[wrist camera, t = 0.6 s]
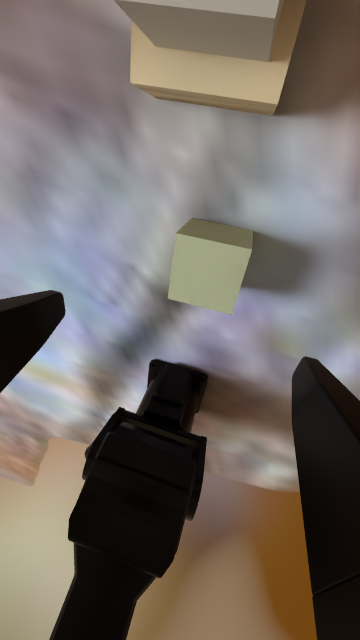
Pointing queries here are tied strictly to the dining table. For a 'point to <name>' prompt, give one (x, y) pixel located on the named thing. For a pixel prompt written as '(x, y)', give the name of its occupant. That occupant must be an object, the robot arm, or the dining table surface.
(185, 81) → the beech slab
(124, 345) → the dining table surface
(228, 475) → the dining table surface
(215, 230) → the sage cube
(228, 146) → the dining table surface
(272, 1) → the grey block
